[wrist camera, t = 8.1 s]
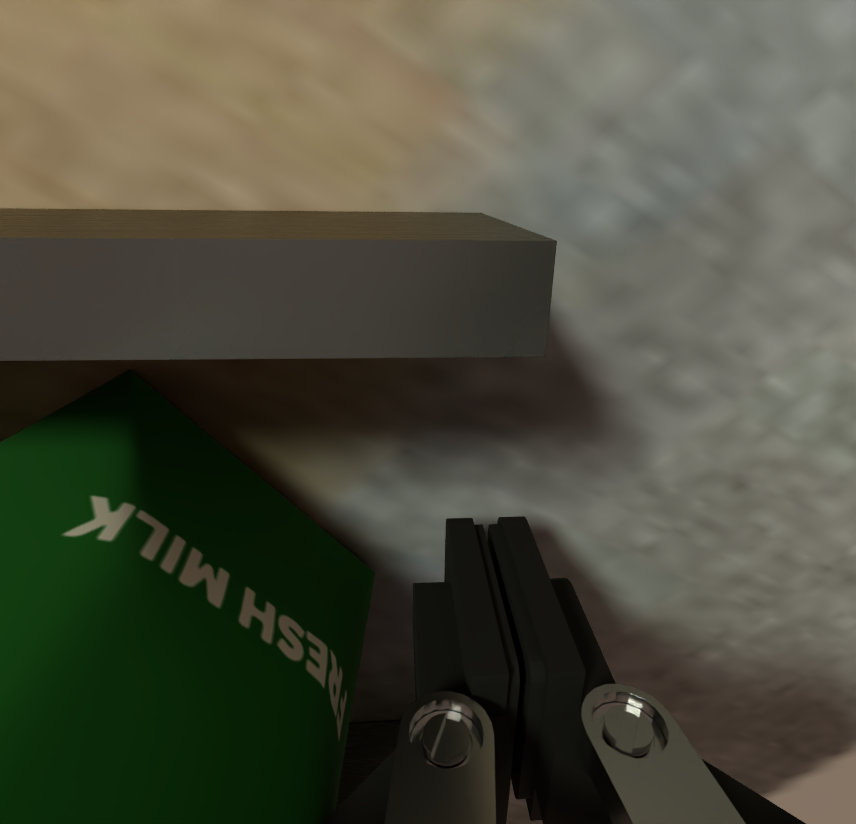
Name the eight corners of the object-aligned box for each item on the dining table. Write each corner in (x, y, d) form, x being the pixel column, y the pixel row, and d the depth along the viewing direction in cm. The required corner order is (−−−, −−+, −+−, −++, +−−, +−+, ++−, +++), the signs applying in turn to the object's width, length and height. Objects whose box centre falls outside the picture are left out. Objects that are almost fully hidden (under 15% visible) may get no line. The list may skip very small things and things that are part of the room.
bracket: (480, 212, 10) (575, 247, 5) (455, 747, 16) (487, 1026, 10) (-296, 205, 9) (-1165, 238, 4) (-28, 772, 15) (-252, 1087, 10)
